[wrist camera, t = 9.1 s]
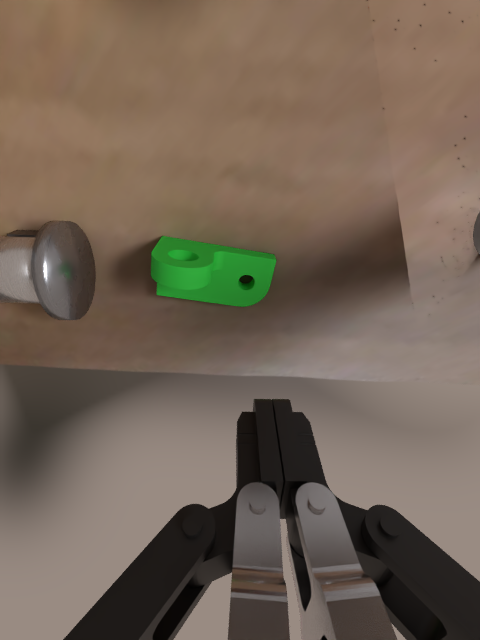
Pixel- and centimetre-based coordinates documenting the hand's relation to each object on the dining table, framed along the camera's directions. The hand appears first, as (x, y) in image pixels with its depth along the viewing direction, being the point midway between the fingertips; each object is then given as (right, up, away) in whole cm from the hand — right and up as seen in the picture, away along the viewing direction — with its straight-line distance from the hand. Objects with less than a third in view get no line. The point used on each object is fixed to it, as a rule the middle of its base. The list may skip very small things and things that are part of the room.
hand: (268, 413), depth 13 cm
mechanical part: (-4, +10, +21) cm, 23 cm away
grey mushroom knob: (-20, +11, +19) cm, 30 cm away
